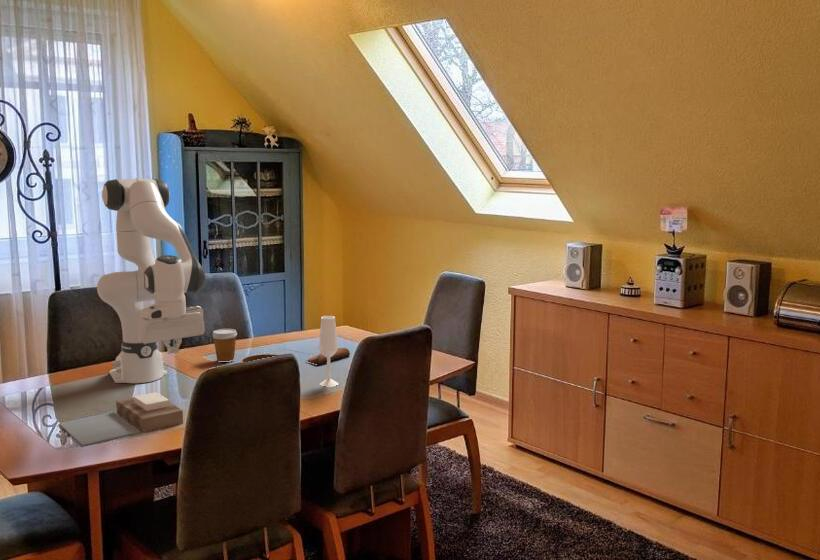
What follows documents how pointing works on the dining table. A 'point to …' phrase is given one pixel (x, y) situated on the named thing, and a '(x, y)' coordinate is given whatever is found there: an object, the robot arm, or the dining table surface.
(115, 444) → the dining table surface
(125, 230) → the robot arm
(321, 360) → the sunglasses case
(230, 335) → the disposable coffee cup
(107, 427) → the grey mat
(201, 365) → the dining table surface
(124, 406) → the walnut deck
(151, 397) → the cream flat block
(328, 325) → the champagne flute
